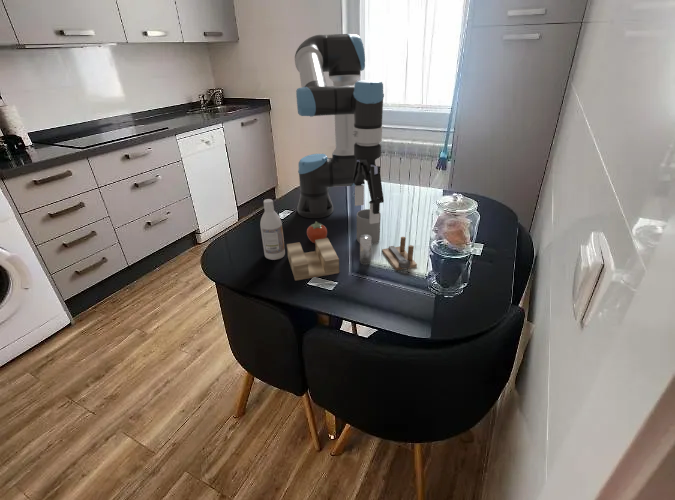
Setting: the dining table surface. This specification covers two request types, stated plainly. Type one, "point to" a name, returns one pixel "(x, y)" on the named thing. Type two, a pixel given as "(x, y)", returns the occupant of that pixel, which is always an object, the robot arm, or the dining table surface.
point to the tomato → (316, 232)
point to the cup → (367, 226)
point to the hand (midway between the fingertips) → (366, 213)
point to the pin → (365, 249)
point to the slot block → (313, 260)
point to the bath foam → (272, 232)
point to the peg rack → (400, 256)
